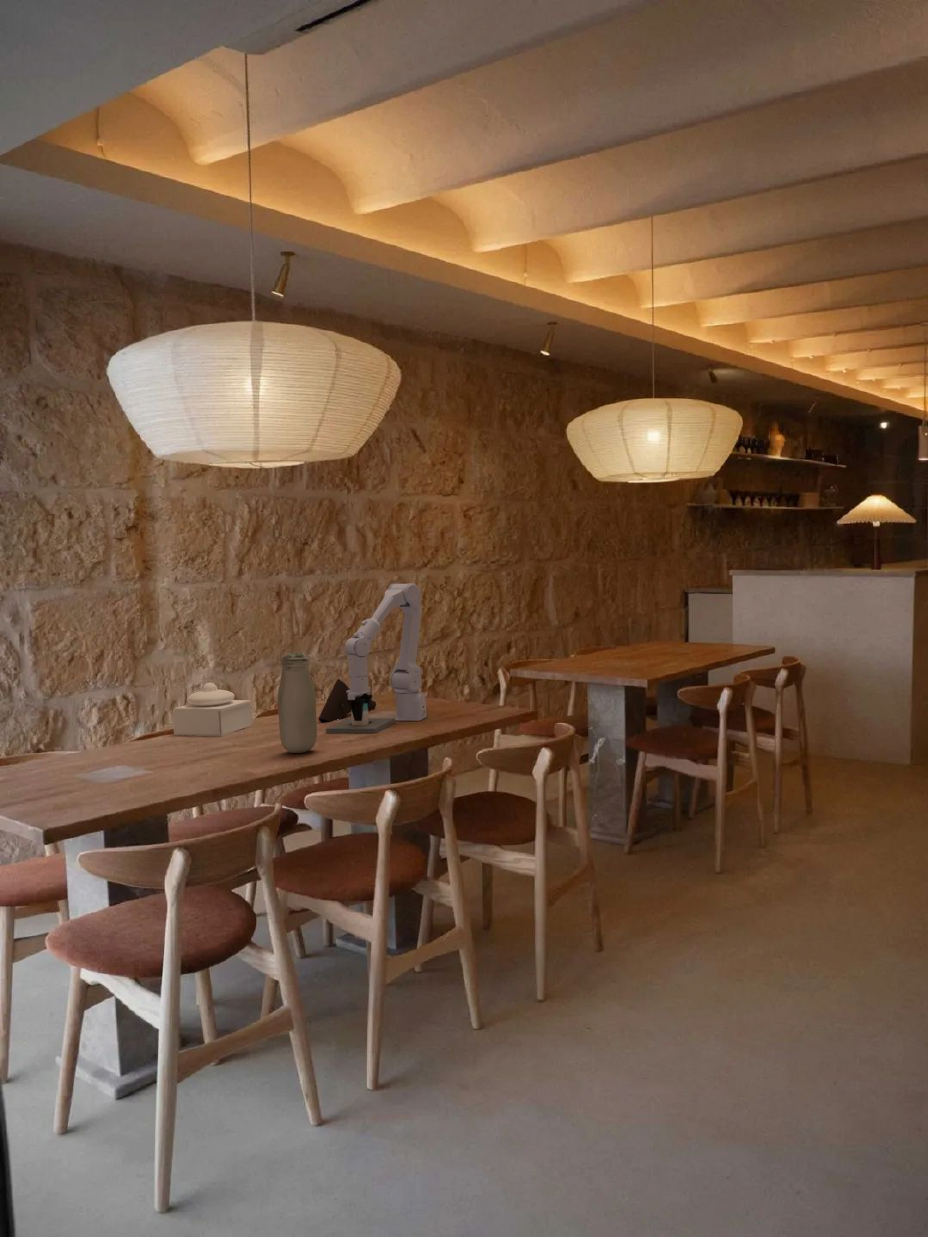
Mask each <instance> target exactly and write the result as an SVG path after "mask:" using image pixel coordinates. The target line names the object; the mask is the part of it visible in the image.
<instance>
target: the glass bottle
mask: <svg viewBox="0 0 928 1237" xmlns="http://www.w3.org/2000/svg"><path fill="white" fill-rule="evenodd" d="M277 710H278V724H279V725H278V726H279V738H280V743H281V745H282V747H283V749H285V750H286V751H287V752H289V753H293V754H302V753H307V752H309V751H311V750H312V749H313V748H314V747H315V744H316V742H317V737H318V727H317V726H318V725H317V724H318V723H317V696H316V692H315V687H314V684H313V681H312V677H311V674H310V660H309V658H308V656H307V654H305V652H302V651H292V652H288V653H286V654H285V655H283V657H282V659H281V676H280V682H279V686H278V692H277Z"/></svg>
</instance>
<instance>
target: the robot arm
mask: <svg viewBox="0 0 928 1237" xmlns="http://www.w3.org/2000/svg"><path fill="white" fill-rule="evenodd" d="M421 600H422V590H420V588H419V586H418V585H417V584H416V583H413V582H412V583H410V582H409V583H391V584H390V585H389V586H388V588H387V590H386V591H385V592H384V596H383V599H382V600H381V602H380V603H379V605H378V606H377V608H376V610H375V611H374V613H373V615H372V616H371V618H366V619H365V620H362V622H361V625H360V627H359V628H358V629H357V631H356V632H354V634H353V636H352V637H350V638H348V639H347V640H346V641H345V644H344V647H343V652H344V653H345V655H346V660H347V661H348V662H347V663H348V677H349V678H348V679H349V689H350V690H347V693H348V699H347V703H348V704H349V706H350V708H351V710H352V713H353V717H354V720H355V721H362V713H363V705H364V703H367V705H368V710H369V704H370V701H371V700H373V694H372V693H371V686H369V677H368V676H369V675H368V661H367V660H368V659H367V658H368V657H367V655H368V654H369V653H370V651H371V645H372V642H373V641H374V640H375V638H376V637H377V636H378V635H379V633H380V631H381V629H382V628H381V624H382V623H383V622H384V621H385V620H386V618H387V617H388V615H389V614H391V612H392V611H393V610H394V608H396V607H398V608H399V609H400V610H401V611H402V613H403V614H404V617H403V625H402V626H403V627H402V634H401V640H400V642H401V643H400V650H399V658H398V661H397V663H396V664H395V665H394V666H393V668H392V669H393V670H392V673H391V674H390V676H389V684H390V686H391V688H392V689H393V692H394V694H395V695H394V696H395V711H396V717H394V718H395V722H396V721H404V722H405V721H412V722H413V721H415V722H416V721H418V722H419V721H423V720H424V719H425V718H427V717H428V715H427V702H426V701H427V699H426V694H425V693H424V692H423V691H420V688H421V687H422V683H423V680H422V675H421V674H422V669H421V668H420V666H419V665H418V664H417V657H418V648H419V638H420V632H421V624H422V623H421V622H422V614H423V606H422V602H421Z"/></svg>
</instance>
